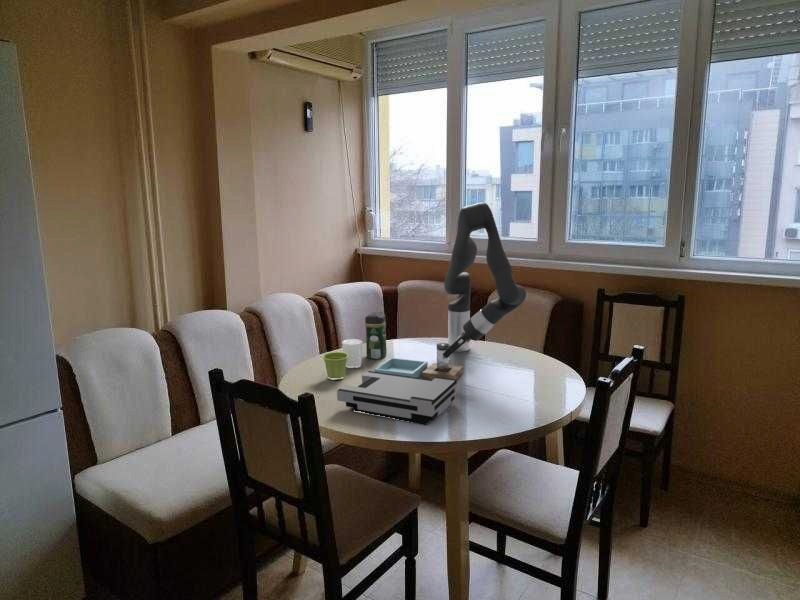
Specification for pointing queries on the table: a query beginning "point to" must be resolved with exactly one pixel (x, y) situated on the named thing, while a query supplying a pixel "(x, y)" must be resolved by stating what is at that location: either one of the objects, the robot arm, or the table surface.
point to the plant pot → (335, 364)
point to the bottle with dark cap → (442, 358)
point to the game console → (400, 396)
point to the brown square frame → (433, 373)
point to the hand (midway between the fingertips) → (448, 353)
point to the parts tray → (403, 367)
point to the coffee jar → (375, 335)
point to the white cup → (353, 351)
